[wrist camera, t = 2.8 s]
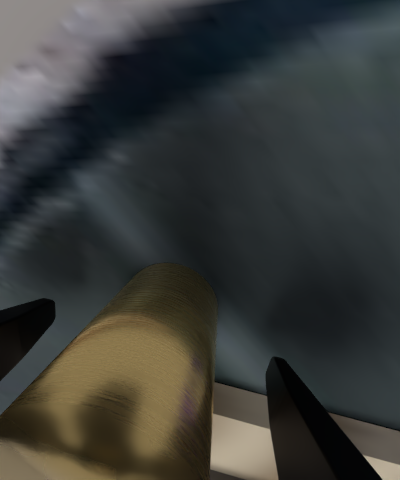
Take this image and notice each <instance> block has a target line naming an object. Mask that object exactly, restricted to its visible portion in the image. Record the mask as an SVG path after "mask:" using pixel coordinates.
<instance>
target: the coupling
mask: <svg viewBox="0 0 400 480" xmlns="http://www.w3.org/2000/svg"><path fill="white" fill-rule="evenodd" d="M217 315H218V305H217V299H216V296H215V294H214V291H213V289H212V288H211V286H210V285H209V283H208V282H207V281H206V280H205V279H204V278H203V277H202V276H201V275H200V274H198V273H197V272H195V271H194V270H192V269H190V268H188V267H185V266H182V265H179V264H174V263H159V264H154V265H151V266H148V267H146V268H144V269H142V270H141V271H140V272H138V273H137V274H136V275H135V276H134V277H133V278H132V279H131V280H130V281H129V282H128V283H127V284H126V285H125V286H124V288H123V289H122V290H121V291H120V292H119V293H118V294H117V295H116V296H115V297H114V298H113V299H112V300H111V301H110V302H109V303H108V304H107V305H106V306H105V307H104V308H103V309H102V310H101V311H100V312H99V313H98V314H97V316H96V317H95V318H94V319H93V320H92V321H91V322H90V323H89V324H88V325H87V326H86V327H85V328H84V329H83V330H82V331H81V332H80V333H79V334H78V335H77V336H76V337H75V338H74V339H73V340H72V341H71V343H70V344H69V345H68V346H67V347H66V348H65V349H64V350H63V351H62V352H61V353H60V354H59V355H58V356H57V357H56V358H55V359H54V360H53V361H52V362H51V363H50V364H49V365H48V366H47V367H46V368H45V370H44V371H43V372H42V373H41V374H40V375H39V376H38V377H37V378H36V379H35V380H34V381H33V382H32V383H31V384H30V385H29V386H28V387H27V388H26V389H25V390H24V391H23V392H22V393H21V394H20V395H19V396H18V398H17V399H16V400H15V401H14V402H13V403H12V404H11V405H10V406H9V407H8V408H7V409H6V410H5V411H4V412H3V413H2V414H1V415H0V480H210V461H211V440H212V419H213V398H214V378H215V357H216V336H217Z"/></svg>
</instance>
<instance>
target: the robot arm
mask: <svg viewBox="0 0 400 480" xmlns="http://www.w3.org/2000/svg"><path fill="white" fill-rule="evenodd" d="M55 316H56V315H55V302H54V301H53V300H50V299H46V298H42V299H38V300H35V301H31V302H28V303H24V304H21V305H17V306H14V307H10V308H7V309H3V310H0V381H1V380H2V379H3V378H4V377H5V376H6V375H7V374H8V373H9V372H10V371H11V370H12V369H13V368H14V367H15V366H16V365H17V364H18V363H19V361H20V360H21V359H22V358H23V357H24V356H25V355H26V354H27V353H28V352H29V350H30V349H31V348H32V347H33V346H34V344H35V343H36V342H37V341H38V340H39V339H40V337H41V336H42V335H43V334H44V333H45V331H46V330H47V329H48V328H49V327H50V326H51V324H52V323H53V322H54V320H55ZM266 390H267V403H268V415H269V425H270V432H271V439H272V444H273V450H274V456H275V462H276V468H277V474H278V479H279V480H382V478H381V477H380V476H379V474H378V473H377V472H376V471H375V469H374V468H373V467H372V466H371V465H370V463H369V462H368V461H367V460H366V458H365V457H364V456H363V455H362V454H361V452H360V451H359V450H358V449H357V447H356V446H355V445H354V444H353V443H352V441H351V440H350V439H349V438H348V436H347V435H346V434H345V433H344V432H343V430H342V429H341V428H340V427H339V425H338V424H337V423H336V422H335V421H334V419H333V418H332V417H331V416H330V414H329V413H328V412H327V411H326V410H325V408H324V407H323V406H322V405H321V403H320V402H319V401H318V400H317V398H316V397H315V396H314V395H313V394H312V392H311V391H310V390H309V389H308V387H307V386H306V385H305V384H304V383H303V381H302V380H301V379H300V378H299V376H298V375H297V374H296V373H295V372H294V370H293V369H292V368H291V367H290V365H289V364H288V363H287V362H286V361H285V360H284V359H283V358H279V357H275V356H274V357H272V358H271V361H270V363H269V366H268V368H267V371H266Z"/></svg>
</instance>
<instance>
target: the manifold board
mask: <svg viewBox="0 0 400 480" xmlns="http://www.w3.org/2000/svg"><path fill="white" fill-rule="evenodd" d="M329 414H330V416H331V417H332V418H333V419H334V421H335V422H336V423H337V424H338V425H339V427H340V428H341V429H342V430H343V432H344V433H345V434H346V435H347V436H348V438H349V439H350V440H351V441H352V443H353V444H354V445H355V446H356V447H357V449H358V450H359V451H360V452H361V454H362V455H363V456H364V457H365V458H366V460H367V461H368V462H369V463H370V465H371V466H372V467H373V468H374V469H375V471H376V472H377V473H378V474H379V476H380V477H381V478H382V480H400V431H396V430H392V429H388V428H385V427H381V426H377V425H373V424H370V423H366V422H362V421H358V420H355V419H351V418H347V417H343V416H340V415H336V414H332V413H329ZM210 480H279V479H278V474H277V468H276V462H275V456H274V450H273V444H272V439H271V432H270V425H269V415H268V403H267V396H265V395H261V394H257V393H253V392H250V391H246V390H242V389H238V388H235V387H231V386H227V385H223V384H220V383H216V382H214V398H213V419H212V440H211V461H210Z"/></svg>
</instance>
